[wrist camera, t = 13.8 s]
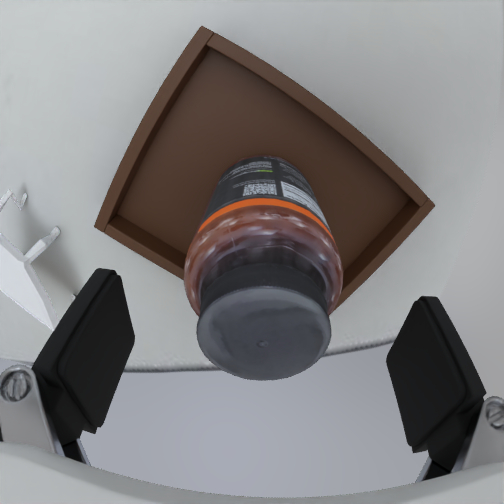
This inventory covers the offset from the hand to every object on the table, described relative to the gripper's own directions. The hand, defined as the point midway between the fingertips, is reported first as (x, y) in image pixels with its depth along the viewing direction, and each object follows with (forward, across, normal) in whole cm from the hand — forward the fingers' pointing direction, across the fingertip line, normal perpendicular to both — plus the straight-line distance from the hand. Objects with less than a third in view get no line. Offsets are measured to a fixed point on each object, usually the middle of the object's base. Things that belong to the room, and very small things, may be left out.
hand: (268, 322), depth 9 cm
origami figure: (+11, +18, +6) cm, 22 cm away
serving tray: (+11, 0, 0) cm, 11 cm away
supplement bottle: (+11, 0, 0) cm, 11 cm away
